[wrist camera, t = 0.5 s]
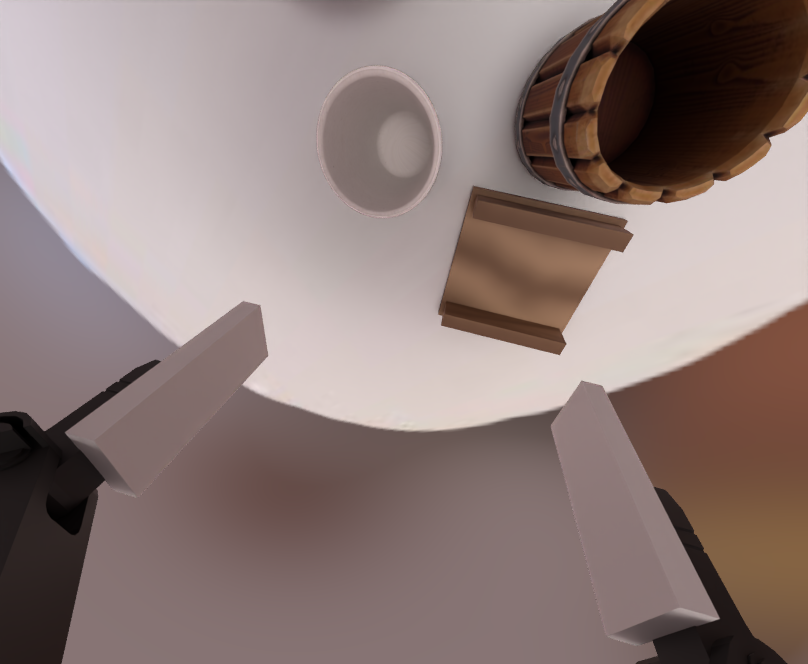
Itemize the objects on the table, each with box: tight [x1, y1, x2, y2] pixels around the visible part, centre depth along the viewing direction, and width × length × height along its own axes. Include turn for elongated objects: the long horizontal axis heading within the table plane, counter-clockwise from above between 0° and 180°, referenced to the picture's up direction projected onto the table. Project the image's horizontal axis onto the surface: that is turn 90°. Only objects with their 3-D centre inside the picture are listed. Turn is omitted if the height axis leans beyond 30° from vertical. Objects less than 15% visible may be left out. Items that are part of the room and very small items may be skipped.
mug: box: [515, 0, 808, 205], centre depth 17 cm, size 16×11×15 cm
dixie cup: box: [317, 65, 442, 218], centre depth 23 cm, size 8×8×10 cm
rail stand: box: [438, 186, 633, 355], centre depth 30 cm, size 14×14×4 cm
